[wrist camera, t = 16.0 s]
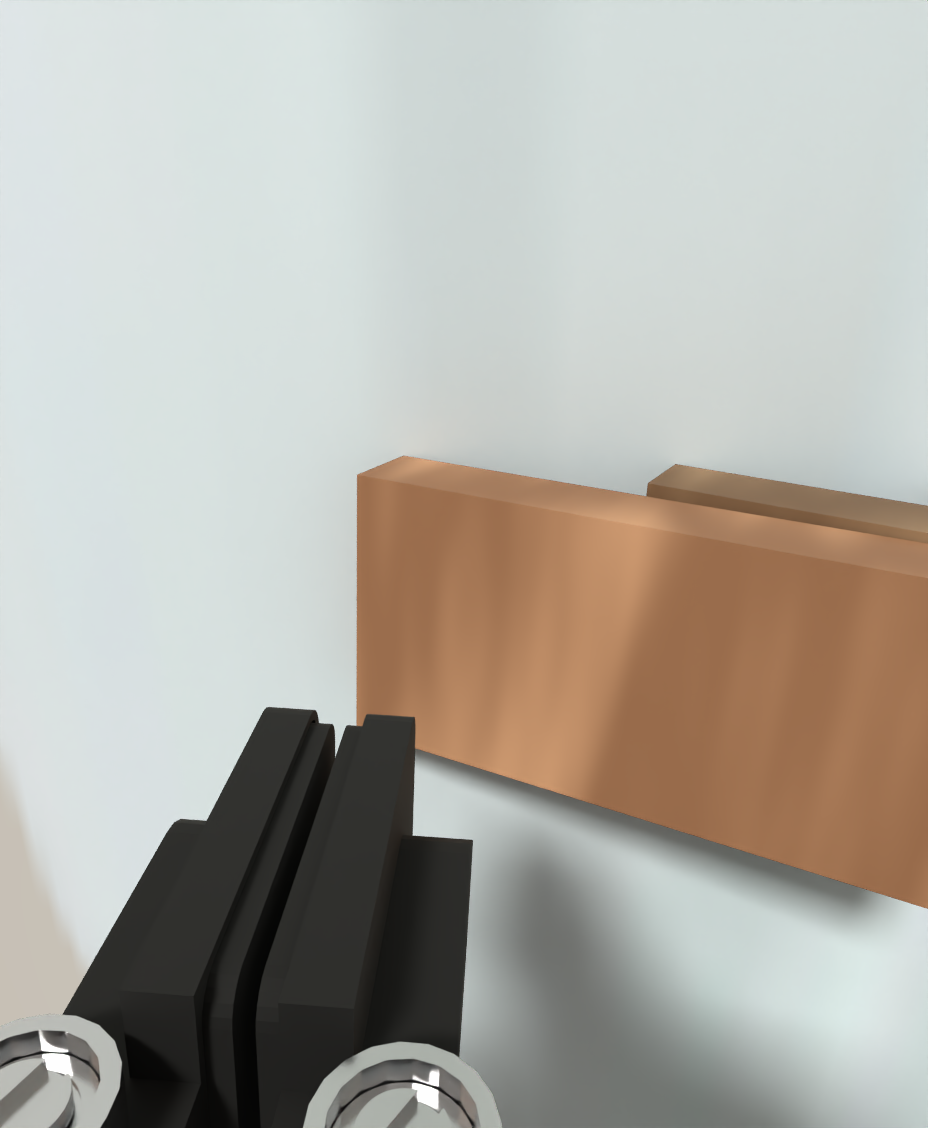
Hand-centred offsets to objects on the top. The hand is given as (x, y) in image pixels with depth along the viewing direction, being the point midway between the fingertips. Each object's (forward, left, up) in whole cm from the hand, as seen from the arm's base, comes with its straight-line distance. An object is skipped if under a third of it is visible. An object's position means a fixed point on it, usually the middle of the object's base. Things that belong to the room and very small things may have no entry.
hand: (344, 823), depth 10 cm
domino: (0, +1, -7) cm, 7 cm away
